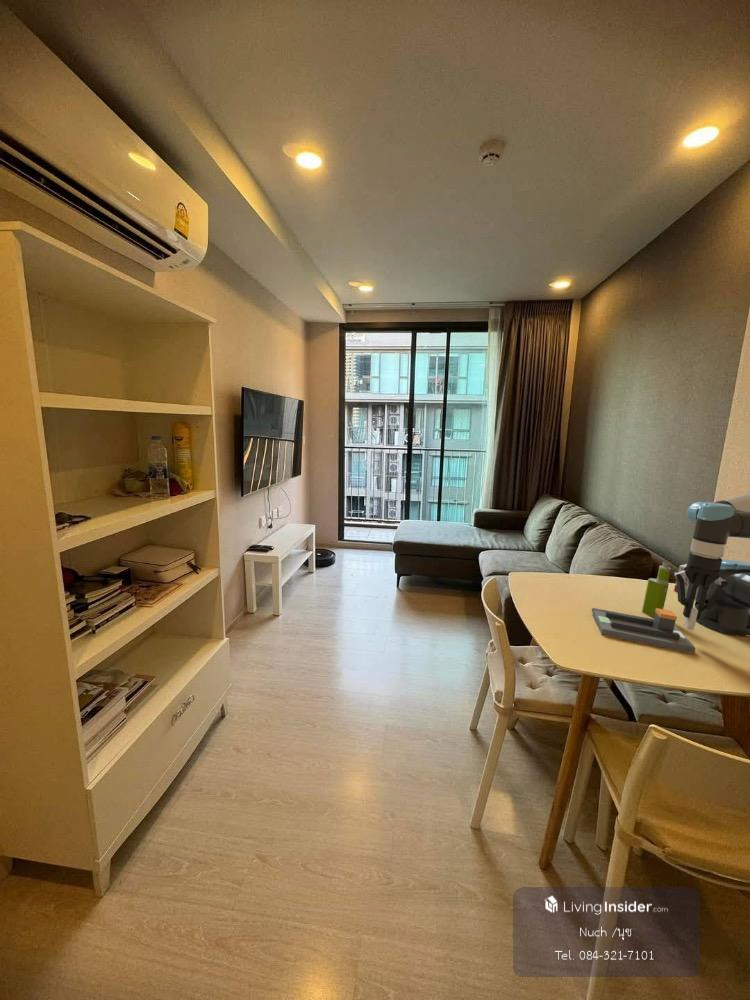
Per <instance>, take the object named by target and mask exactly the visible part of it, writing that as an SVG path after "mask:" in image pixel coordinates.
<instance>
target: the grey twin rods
mask: <svg viewBox="0 0 750 1000" xmlns="http://www.w3.org/2000/svg"><path fill="white" fill-rule="evenodd" d="M593 610H597V611H602V612H605V611H610V612H615V613H621V614H626V615H631V616H637V617H642V618H647V619H653V620H654V618H652V617H651V618H649V617H646V616H645V617H644V616H639V615H633V614H628V613H623V612H618V611H613V610H607V609H602V608H596V607H592V608H591V612H592V613H593Z"/></svg>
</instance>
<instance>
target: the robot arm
mask: <svg viewBox="0 0 750 1000" xmlns="http://www.w3.org/2000/svg"><path fill="white" fill-rule="evenodd" d="M686 511H687V512H686V516H687V518H688V519H689V521H690V522H692V523H694V524H695V525H694V529H693V530H694V531H693V534H692V540H691V544H690V549H689V550H690V552H689V553H688V556H687V562H686V564H687V566H686V567H685V568H684V571H681V572H678V571H674V572H673V576H674V578H675V582H676V581H677V592H676V594H677V602H679V603H680V604H681V605H682V606H683V607H684V608H683V610H682V611H683V612H682V615H683V616H684V617H685V619H684V623H683V626H685V628H686V629H687V630H691V631H694V630H695V626H696V622H697V623H698V624H700V625H702V626H705V627H706V628H709V629H711V630H714V631H716V632H721V633H724V634H727V635H731V636H736V635H737V636H738V637H747V636H746V635H750V562H748V561H742V560H734V559H727V558H726V559H725V558H723V557H724V555H725V551H726V547H727V541H728V539H729V538H740V539H741V538H742V539H750V492H748V493H747V492H746V493H744V494H741V495H736V496H733V497H732V496H731V497H729V498H725V499H721V500H718V501H717V500H716V501H714V502H712V501H711V502H710V501H709V502H706V501H697V502H694V503H692V504H691V505H689V507H688V508H687V510H686ZM685 575H686V576H687V578H688V579H689V586H688V590H687V595H685V583H684V580H683V579H685ZM698 587H699V588H698ZM697 588H698V592H697V597H696V599H695V595H696V591H697Z"/></svg>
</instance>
